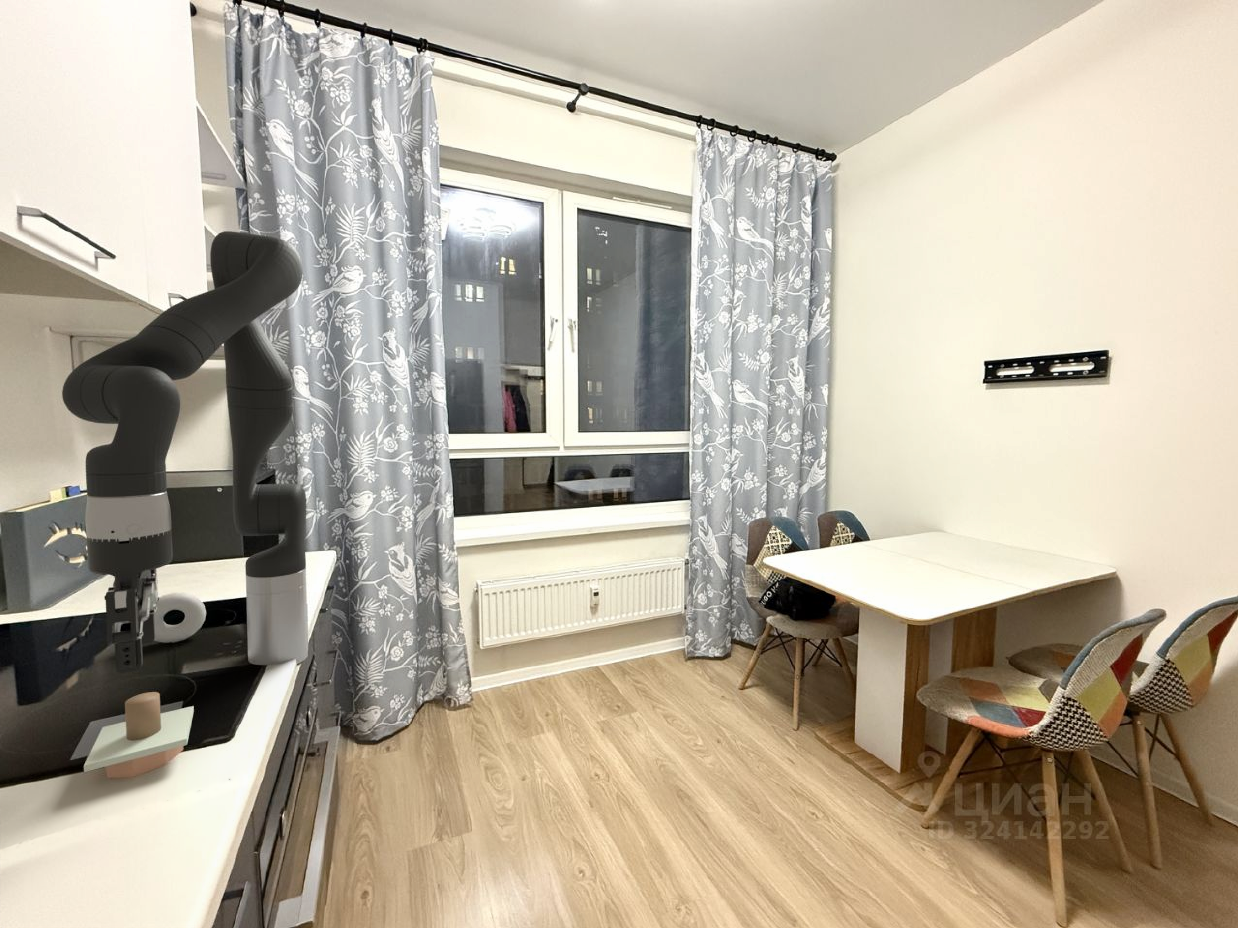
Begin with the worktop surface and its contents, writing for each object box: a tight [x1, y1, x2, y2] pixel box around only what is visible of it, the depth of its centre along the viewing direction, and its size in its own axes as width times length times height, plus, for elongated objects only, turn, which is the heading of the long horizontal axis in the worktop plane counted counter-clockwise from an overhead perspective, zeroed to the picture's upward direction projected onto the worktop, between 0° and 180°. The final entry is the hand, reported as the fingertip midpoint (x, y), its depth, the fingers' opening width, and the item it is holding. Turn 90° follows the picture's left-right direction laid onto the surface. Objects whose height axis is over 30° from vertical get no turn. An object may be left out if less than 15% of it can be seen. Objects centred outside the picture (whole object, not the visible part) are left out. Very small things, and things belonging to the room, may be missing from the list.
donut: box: [151, 592, 207, 644], centre depth 101 cm, size 10×4×10 cm, turn 126°
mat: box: [69, 700, 184, 761], centre depth 71 cm, size 10×10×2 cm
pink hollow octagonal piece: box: [104, 746, 184, 779], centre depth 64 cm, size 7×7×4 cm
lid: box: [83, 691, 195, 773], centre depth 64 cm, size 9×9×5 cm
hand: (137, 655), depth 63 cm, fingers open, 8 cm apart
